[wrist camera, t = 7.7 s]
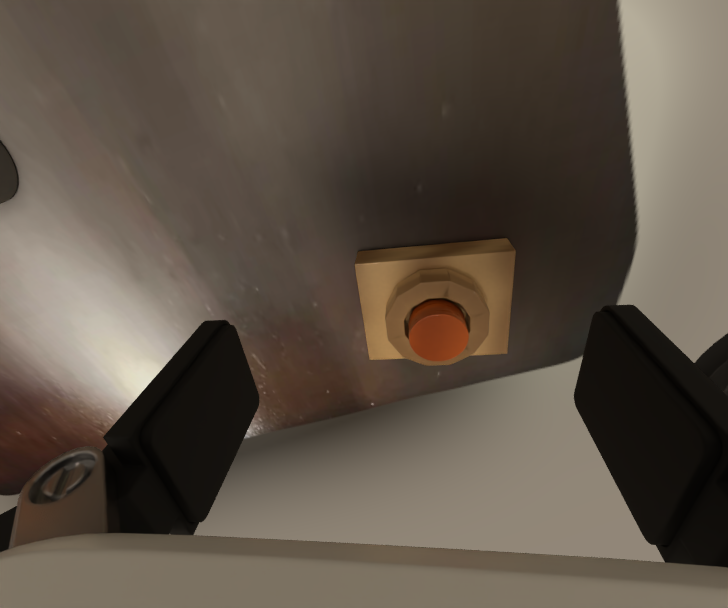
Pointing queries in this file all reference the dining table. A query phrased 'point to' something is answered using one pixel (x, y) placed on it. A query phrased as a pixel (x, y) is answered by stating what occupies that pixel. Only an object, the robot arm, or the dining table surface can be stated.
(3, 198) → the bottle
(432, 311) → the button
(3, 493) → the dining table surface
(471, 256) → the button block
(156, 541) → the robot arm
